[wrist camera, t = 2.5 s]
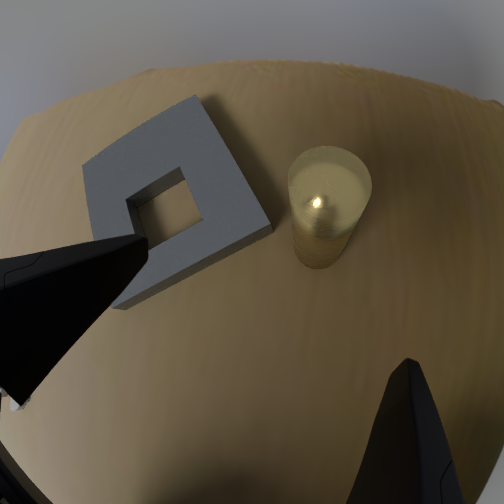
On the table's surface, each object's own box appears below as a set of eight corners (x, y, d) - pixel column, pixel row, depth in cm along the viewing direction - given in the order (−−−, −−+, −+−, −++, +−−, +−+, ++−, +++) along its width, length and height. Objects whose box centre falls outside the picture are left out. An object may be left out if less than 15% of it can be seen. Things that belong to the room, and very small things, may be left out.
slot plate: (273, 232, 22) (270, 223, 20) (125, 309, 22) (111, 308, 20) (201, 106, 26) (195, 94, 24) (92, 173, 27) (82, 165, 25)
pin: (350, 254, 20) (387, 197, 11) (308, 277, 20) (315, 236, 11) (326, 214, 21) (341, 135, 12) (285, 235, 21) (272, 166, 12)
